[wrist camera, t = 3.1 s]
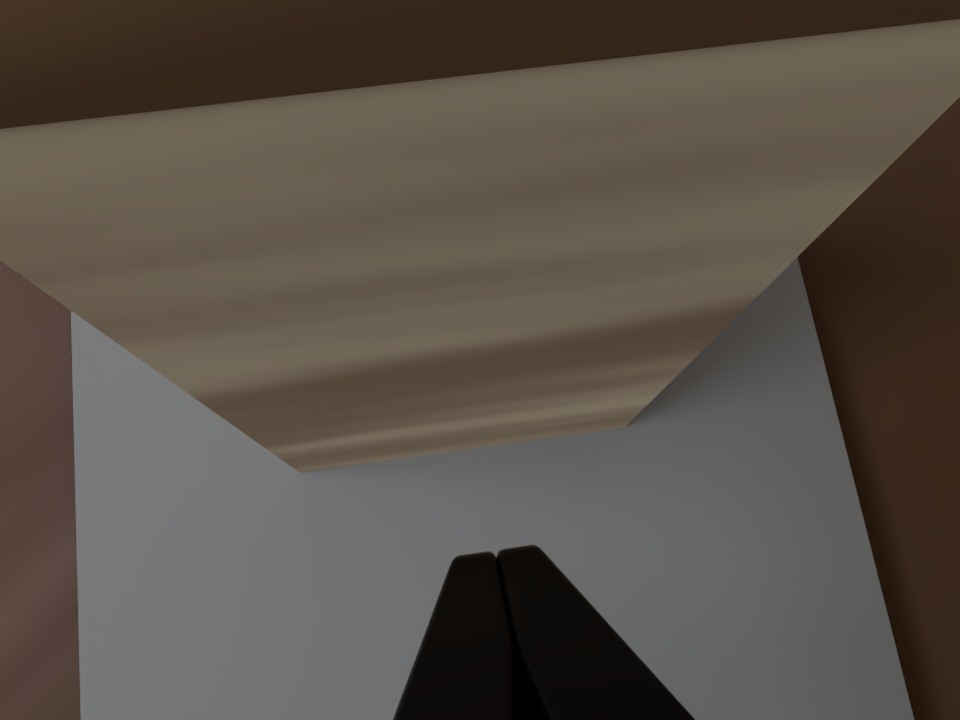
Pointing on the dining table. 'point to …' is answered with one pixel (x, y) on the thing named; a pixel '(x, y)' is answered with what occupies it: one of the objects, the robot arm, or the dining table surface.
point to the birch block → (441, 193)
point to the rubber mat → (482, 544)
